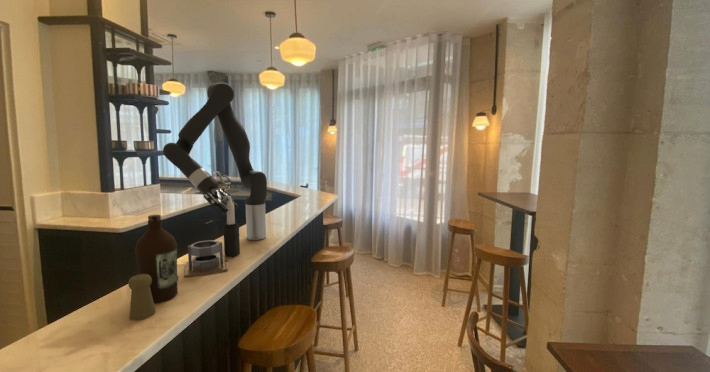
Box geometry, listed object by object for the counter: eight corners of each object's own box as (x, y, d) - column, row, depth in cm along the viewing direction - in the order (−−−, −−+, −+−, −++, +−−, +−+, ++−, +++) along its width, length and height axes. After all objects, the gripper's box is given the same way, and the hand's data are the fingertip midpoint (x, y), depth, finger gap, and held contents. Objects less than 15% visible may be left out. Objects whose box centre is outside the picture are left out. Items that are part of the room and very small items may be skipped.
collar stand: (186, 264, 124) (184, 241, 123) (225, 258, 130) (224, 237, 129) (184, 277, 112) (183, 252, 110) (227, 271, 118) (226, 247, 116)
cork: (135, 322, 83) (132, 282, 82) (124, 316, 86) (121, 276, 85) (160, 312, 88) (157, 274, 87) (149, 306, 91) (146, 269, 90)
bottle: (240, 253, 137) (238, 195, 134) (235, 257, 132) (232, 197, 129) (229, 252, 138) (227, 194, 135) (223, 256, 133) (220, 196, 130)
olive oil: (130, 301, 94) (123, 218, 91) (161, 286, 104) (156, 211, 101) (157, 307, 91) (151, 221, 88) (187, 291, 101) (183, 213, 98)
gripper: (199, 176, 125) (229, 206, 125) (218, 173, 139) (245, 200, 139) (187, 190, 126) (217, 219, 126) (207, 185, 140) (233, 212, 140)
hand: (231, 209), depth 133 cm, fingers open, 8 cm apart
